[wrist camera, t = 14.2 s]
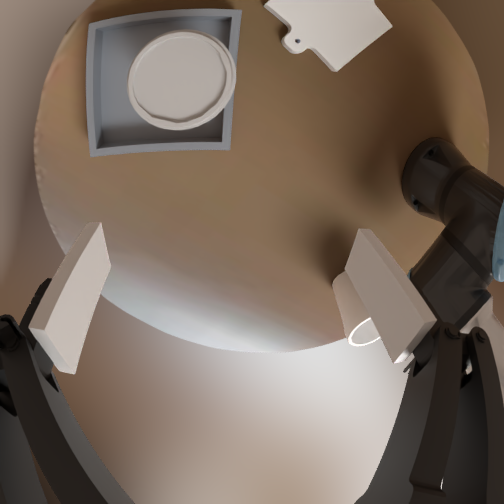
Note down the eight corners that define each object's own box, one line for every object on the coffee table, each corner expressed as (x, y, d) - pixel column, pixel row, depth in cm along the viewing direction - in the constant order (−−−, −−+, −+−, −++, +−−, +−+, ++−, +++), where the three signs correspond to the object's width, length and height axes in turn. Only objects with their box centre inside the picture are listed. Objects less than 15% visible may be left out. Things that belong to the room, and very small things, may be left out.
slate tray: (238, 16, 23) (241, 10, 21) (228, 143, 34) (230, 150, 31) (99, 27, 21) (88, 23, 18) (99, 149, 31) (90, 157, 28)
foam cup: (316, 286, 53) (338, 339, 43) (351, 256, 50) (381, 306, 39) (341, 303, 58) (363, 350, 47) (373, 276, 54) (401, 321, 44)
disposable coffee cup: (136, 81, 26) (101, 85, 17) (194, 30, 23) (186, 6, 14) (186, 129, 31) (175, 154, 22) (244, 81, 29) (261, 82, 19)
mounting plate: (337, -41, 18) (342, -45, 16) (394, 20, 24) (401, 19, 23) (249, 18, 24) (251, 14, 23) (318, 82, 30) (324, 82, 29)
